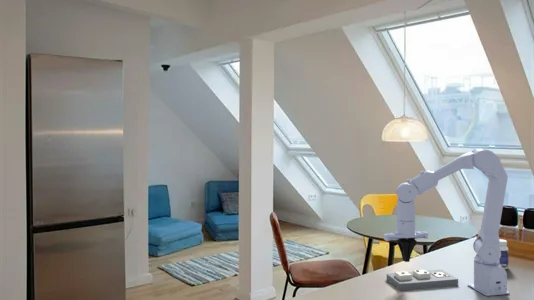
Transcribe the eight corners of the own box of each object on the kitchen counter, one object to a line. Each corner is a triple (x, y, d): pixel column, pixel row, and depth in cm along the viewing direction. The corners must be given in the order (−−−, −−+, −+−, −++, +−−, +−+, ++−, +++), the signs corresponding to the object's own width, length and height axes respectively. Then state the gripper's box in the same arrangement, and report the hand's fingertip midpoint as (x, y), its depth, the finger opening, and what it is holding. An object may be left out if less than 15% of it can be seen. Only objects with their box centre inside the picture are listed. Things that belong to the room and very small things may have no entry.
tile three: (448, 281, 147) (448, 275, 146) (437, 282, 146) (437, 276, 146) (442, 277, 150) (442, 271, 150) (431, 278, 150) (431, 272, 150)
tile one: (411, 280, 144) (411, 274, 144) (400, 281, 144) (400, 275, 144) (405, 276, 148) (405, 270, 148) (394, 277, 148) (394, 271, 148)
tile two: (430, 279, 145) (430, 272, 145) (418, 280, 145) (418, 273, 145) (424, 275, 149) (424, 268, 149) (413, 276, 149) (412, 269, 149)
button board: (458, 285, 144) (458, 279, 144) (400, 290, 141) (400, 283, 141) (441, 275, 154) (441, 269, 154) (386, 279, 150) (386, 273, 150)
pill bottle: (511, 269, 158) (511, 242, 157) (495, 270, 158) (495, 242, 157) (503, 264, 163) (503, 238, 163) (487, 265, 164) (487, 238, 163)
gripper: (420, 216, 150) (420, 256, 151) (379, 218, 148) (380, 258, 149) (431, 220, 143) (431, 262, 144) (389, 223, 141) (389, 265, 142)
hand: (406, 261), depth 146 cm, fingers closed
